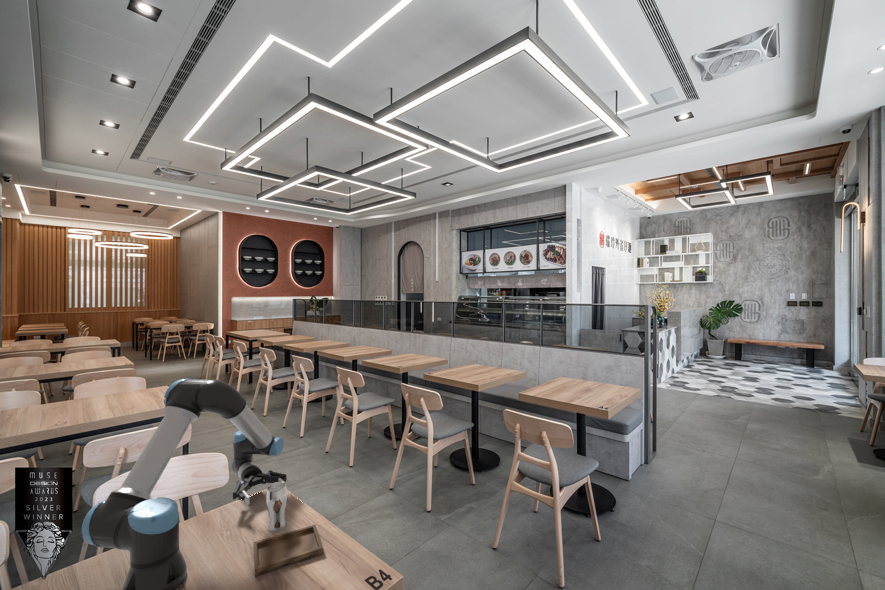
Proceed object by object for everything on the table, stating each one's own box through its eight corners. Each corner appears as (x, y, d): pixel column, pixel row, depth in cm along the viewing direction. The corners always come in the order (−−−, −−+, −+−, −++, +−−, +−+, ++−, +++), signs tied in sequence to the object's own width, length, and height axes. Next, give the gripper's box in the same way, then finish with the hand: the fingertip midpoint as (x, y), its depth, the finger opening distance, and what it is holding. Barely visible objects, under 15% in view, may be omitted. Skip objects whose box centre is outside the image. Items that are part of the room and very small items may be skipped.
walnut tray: (254, 576, 116) (254, 569, 116) (253, 548, 128) (253, 542, 128) (322, 554, 125) (322, 547, 125) (315, 530, 138) (315, 524, 138)
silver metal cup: (279, 533, 136) (279, 492, 135) (262, 531, 137) (261, 490, 137) (291, 521, 143) (290, 482, 142) (274, 519, 144) (273, 480, 144)
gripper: (280, 472, 171) (299, 491, 156) (217, 494, 154) (231, 517, 139) (280, 456, 171) (299, 473, 155) (216, 475, 154) (231, 496, 138)
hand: (267, 494), depth 147 cm, fingers open, 13 cm apart
